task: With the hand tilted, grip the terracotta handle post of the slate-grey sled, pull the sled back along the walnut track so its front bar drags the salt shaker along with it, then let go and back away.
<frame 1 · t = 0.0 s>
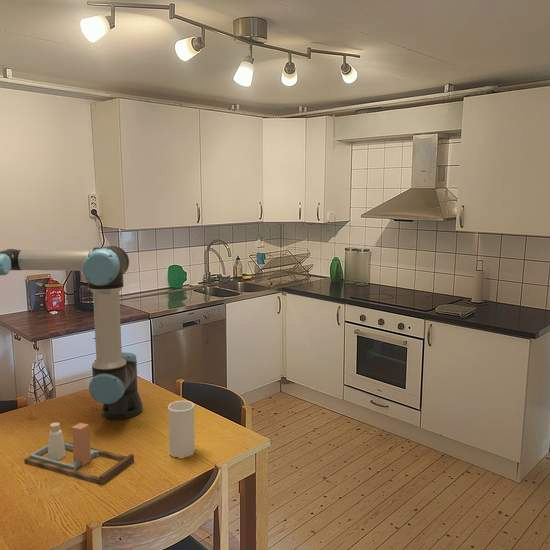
salt shaker: (57, 457, 162), resting in sled
sled: (63, 439, 160), point 6 cm above the table, slide at 0.0 cm
track: (82, 463, 158), on the table
cup: (182, 452, 165), on the table
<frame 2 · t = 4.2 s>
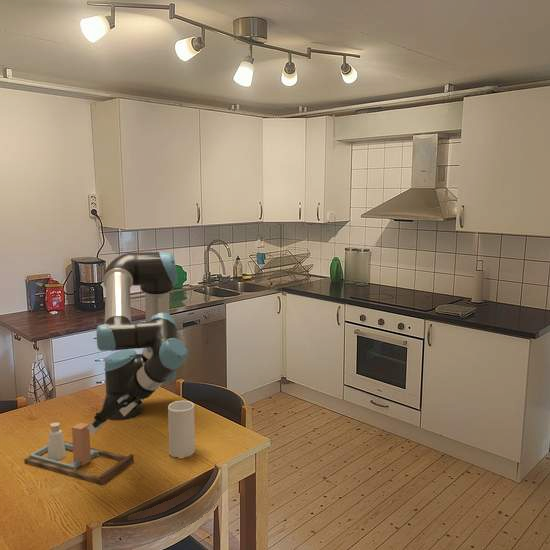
hand: (106, 421, 152), 16 cm above the table, tool tilted 45°, fingers open, 13 cm apart
nothing on the table moved.
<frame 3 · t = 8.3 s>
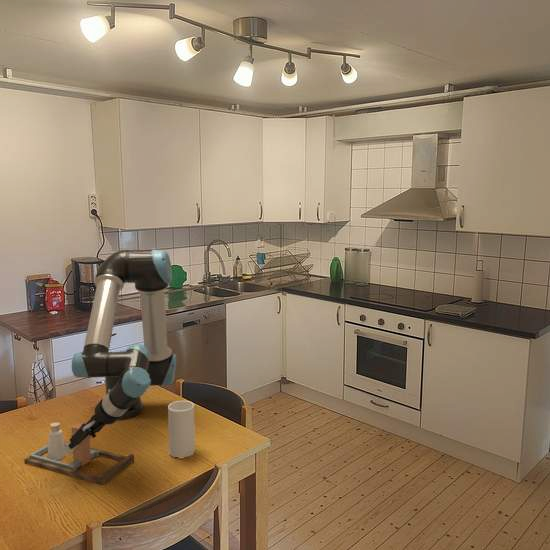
hand: (72, 448, 159), 4 cm above the table, tool tilted 45°, fingers closed on sled, 3 cm apart
sled: (63, 439, 160), point 6 cm above the table, slide at 0.0 cm, touching gripper
everything else where it was.
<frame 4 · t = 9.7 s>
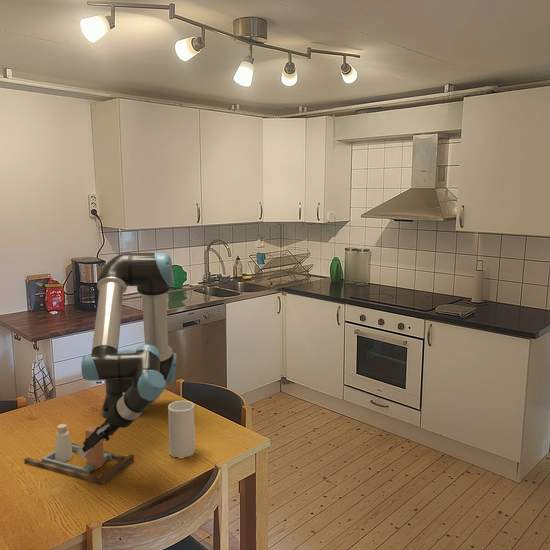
hand: (85, 451, 157), 4 cm above the table, tool tilted 45°, fingers closed on sled, 3 cm apart
salt shaker: (64, 458, 161), resting in sled
sled: (76, 442, 158), point 6 cm above the table, slide at 5.2 cm, touching gripper, salt shaker
everything else where it was.
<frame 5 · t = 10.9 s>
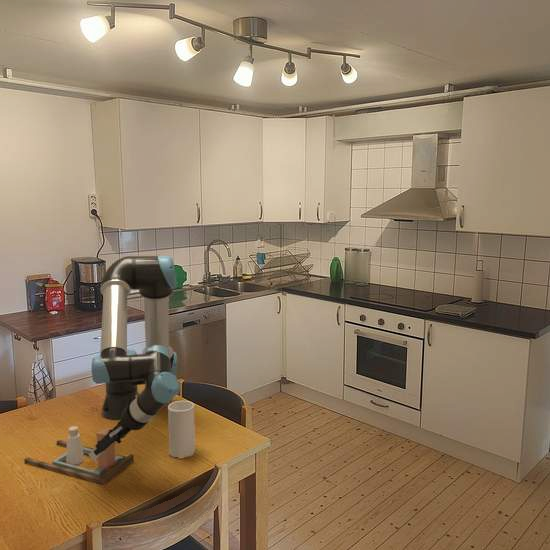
hand: (97, 454, 155), 4 cm above the table, tool tilted 45°, fingers closed on sled, 3 cm apart
salt shaker: (75, 461, 160), resting in sled
sled: (87, 445, 156), point 6 cm above the table, slide at 9.7 cm, touching gripper, salt shaker
everything else where it was.
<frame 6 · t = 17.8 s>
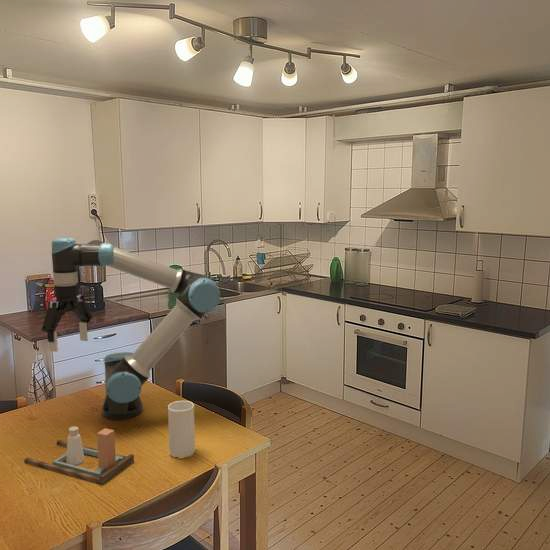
hand: (69, 345, 174), 32 cm above the table, tool pointing down, fingers open, 13 cm apart
salt shaker: (75, 461, 159), resting in sled
sled: (87, 445, 156), point 6 cm above the table, slide at 9.8 cm
everything else where it was.
at the end: sled slide at 9.8 cm; salt shaker moved 7.5 cm from its start; salt shaker tilted 0° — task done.
